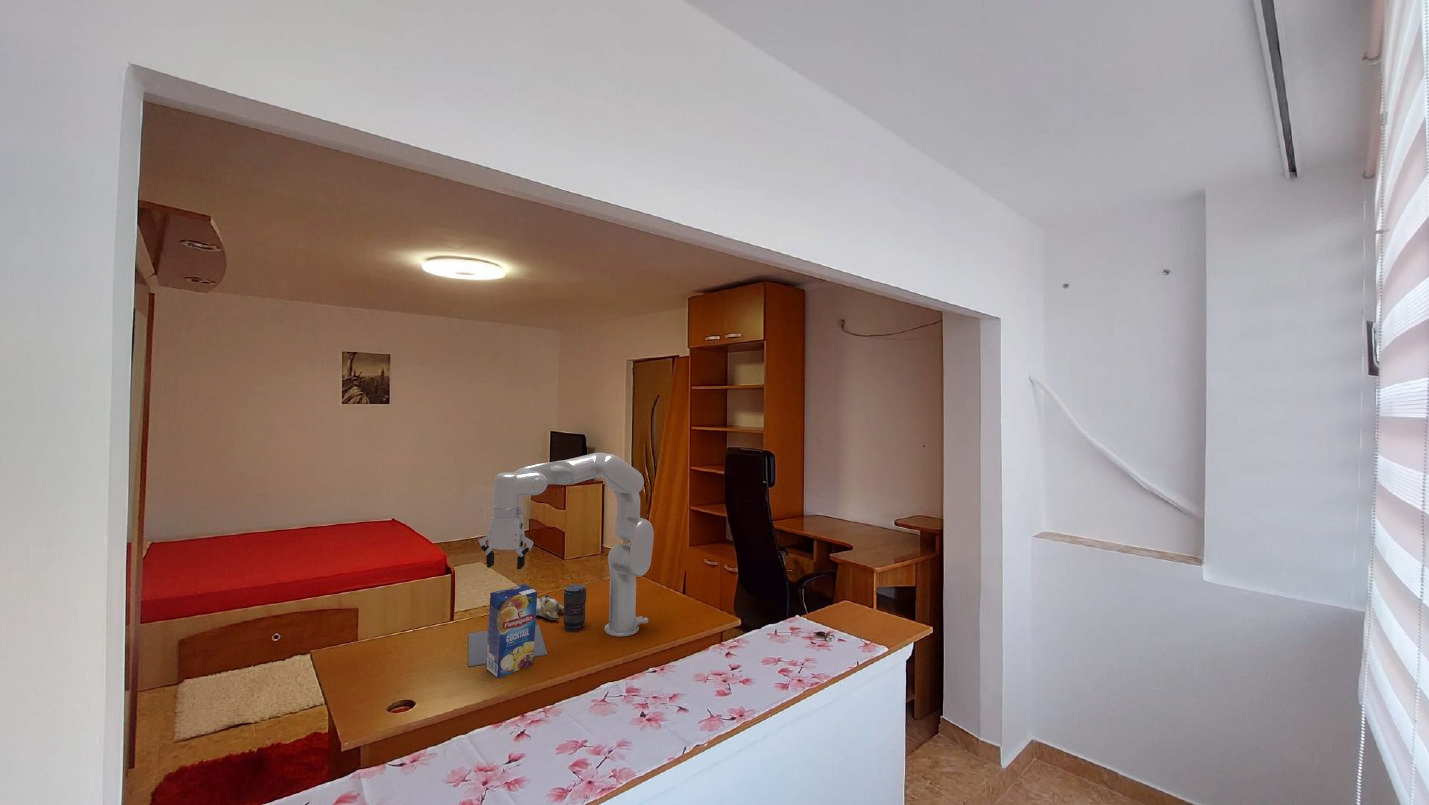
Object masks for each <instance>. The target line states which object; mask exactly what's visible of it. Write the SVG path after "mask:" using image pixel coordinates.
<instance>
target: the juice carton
mask: <svg viewBox="0 0 1429 805" xmlns="http://www.w3.org/2000/svg"><path fill="white" fill-rule="evenodd" d="M489 594H490V596H489V613H488V626H487V627H488V630H487V631H488V644H487V661H486V665H485V669H487V670H488V671H489V672H490V673H491V674H493V676H495V677H496V678H498V679H499V678H502V677H504V676H507V675H509V674H513V673H515V672H517V671H520V670H523V669H525V668H528V667H531V666H533V665H534V657H533V655H534V640H535V625H537V624H536V623H537V622H536V621H537V620H536V619H537V616H536V608H537V598H538V590H536V589H535V588H533V587H530V585H529V584H528V585H527V584H526V583H524V584H520V585H516V586H512V587H508V588H504V589H501V590H497V591H494V592H493V591H492V592H490V593H489Z"/></svg>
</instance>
